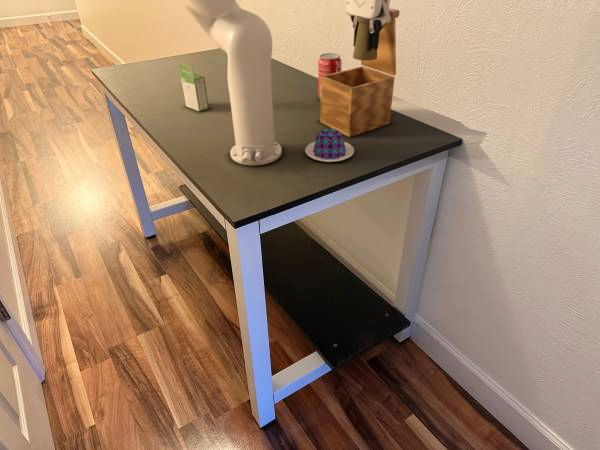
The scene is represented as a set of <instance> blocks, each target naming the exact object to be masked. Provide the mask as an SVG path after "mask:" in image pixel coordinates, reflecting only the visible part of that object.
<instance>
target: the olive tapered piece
mask: <svg viewBox="0 0 600 450" xmlns="http://www.w3.org/2000/svg"><path fill="white" fill-rule="evenodd" d="M377 17H378V16H377ZM357 20H358V22H359V26H358V31H357V37H356V42H355V47H354V46H353V47H354V48H353V54H352V59H354V60H357V61H361V60H375V59H377V50H375V49H374V48H373V49H372V50H371V51H367V35H368V33H370V24H369V20H370V19H366V18H362V17H357ZM376 23H377V20H375V24H376Z"/></svg>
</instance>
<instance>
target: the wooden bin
mask: <svg viewBox="0 0 600 450" xmlns="http://www.w3.org/2000/svg"><path fill="white" fill-rule="evenodd" d="M394 87H395V76H393V75H390V74H387V73H384V72H381V71H378V70H375V69H372V68H369V67H366V66H363V65H361V66H358V67H354V68H349V69H345V70H341V72H337V73H333V74H328V75H324V76H321V99H320V118H319V119H320V123H321V124H322V125H325V126H327V127H329V128H330V129H337V130H338V131H340V132H341V133H342V135H344V136H346V137H347V138H352V137H354V136H357V135H360V134H364V133H366V132H369V131H372V130H376V129H378V128H381V127H383V126H387V125H389V124H390V123H391V122H390V121H391V114H392V104H393V97H394Z"/></svg>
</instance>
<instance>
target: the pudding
mask: <svg viewBox="0 0 600 450" xmlns="http://www.w3.org/2000/svg"><path fill="white" fill-rule="evenodd" d="M343 135H344V134H342V133H341V132H340V131H338V130H337V129H332V128H326V129H325V128H324V129H321V130H320V131H318V133H317V134H316V136H315V137H316V138H315V141H313V142H311V143H309V144H308V145H307V146H306V147H305V149H304V153H305V154H306V156H307V157H310V158H311V159H313V160H315V161H319V162H326V163H333V162H341V161H344V160H346V159H349V158H350V157H352V156H353V155H354V153H355V148H354V146H353V145H352V144H350V143H348V142H346V141H345V140H344V136H343Z"/></svg>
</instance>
